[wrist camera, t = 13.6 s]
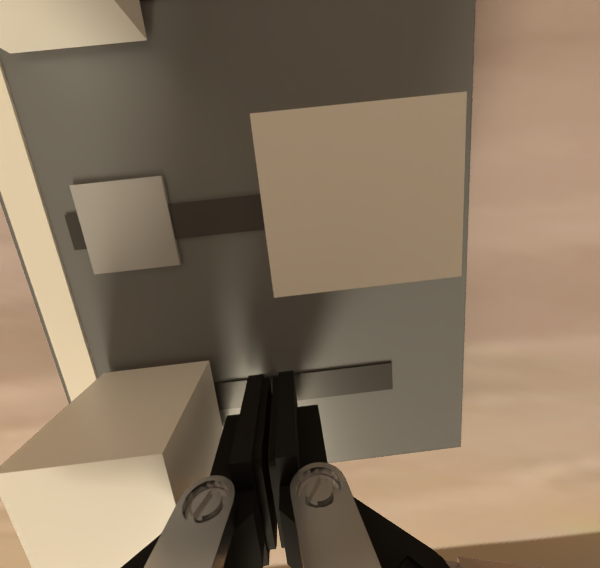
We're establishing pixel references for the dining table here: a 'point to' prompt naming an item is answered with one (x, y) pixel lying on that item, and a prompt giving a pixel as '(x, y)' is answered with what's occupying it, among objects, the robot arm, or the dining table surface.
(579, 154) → the dining table surface
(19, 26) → the tab
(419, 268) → the tab
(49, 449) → the cream cube
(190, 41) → the switch panel
